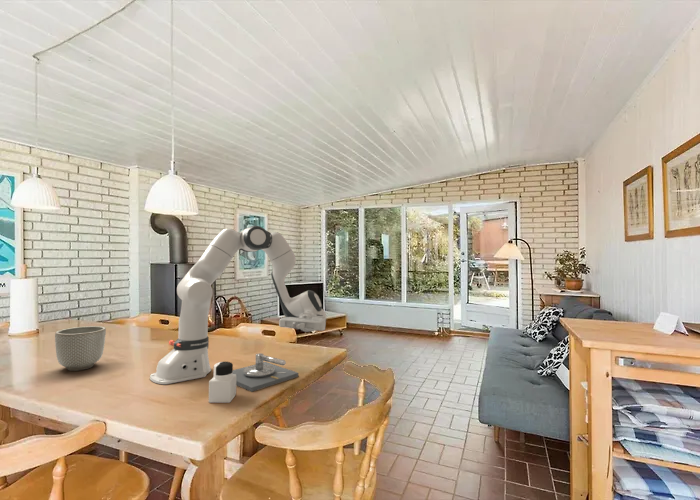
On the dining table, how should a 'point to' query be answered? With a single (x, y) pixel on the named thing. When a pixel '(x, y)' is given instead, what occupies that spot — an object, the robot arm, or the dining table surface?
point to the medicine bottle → (222, 383)
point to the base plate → (263, 378)
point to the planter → (79, 346)
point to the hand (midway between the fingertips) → (295, 326)
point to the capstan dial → (262, 366)
